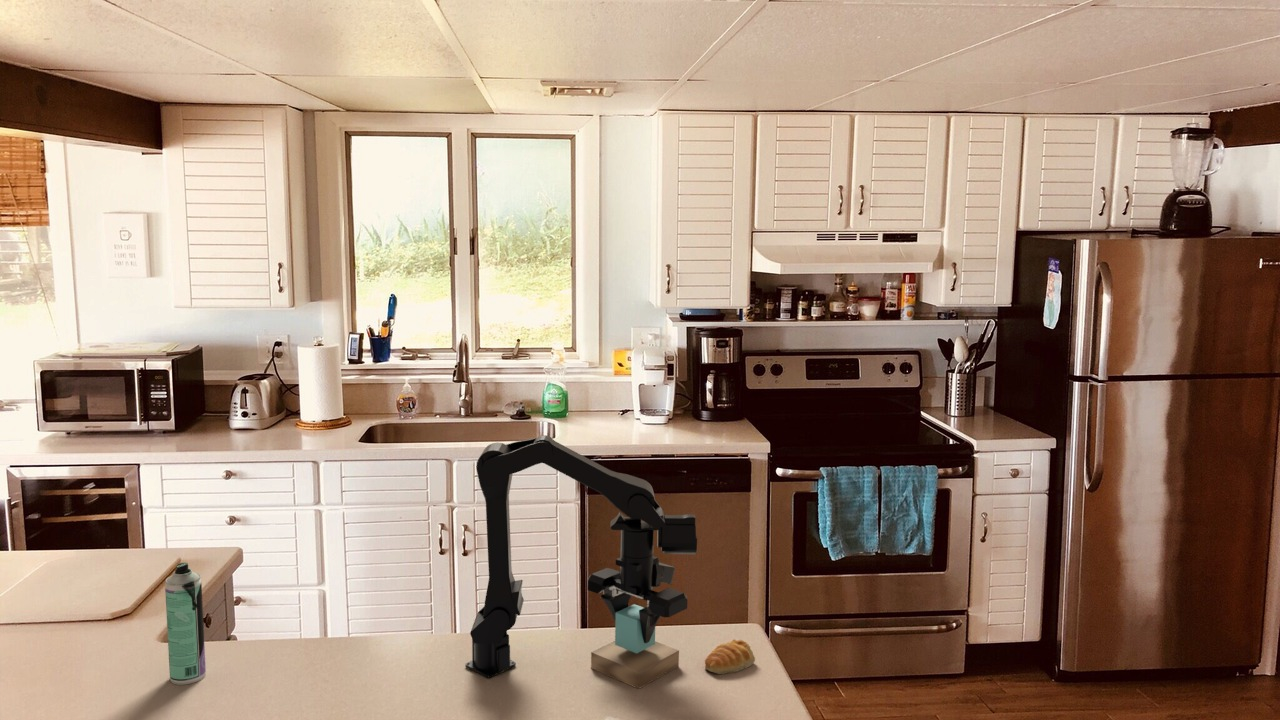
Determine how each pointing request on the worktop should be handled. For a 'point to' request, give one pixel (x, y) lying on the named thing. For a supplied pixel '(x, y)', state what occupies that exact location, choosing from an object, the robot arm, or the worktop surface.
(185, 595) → the spray can
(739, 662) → the pastry
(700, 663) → the worktop surface
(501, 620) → the robot arm
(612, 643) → the oak base
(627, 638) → the teal block
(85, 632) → the worktop surface
